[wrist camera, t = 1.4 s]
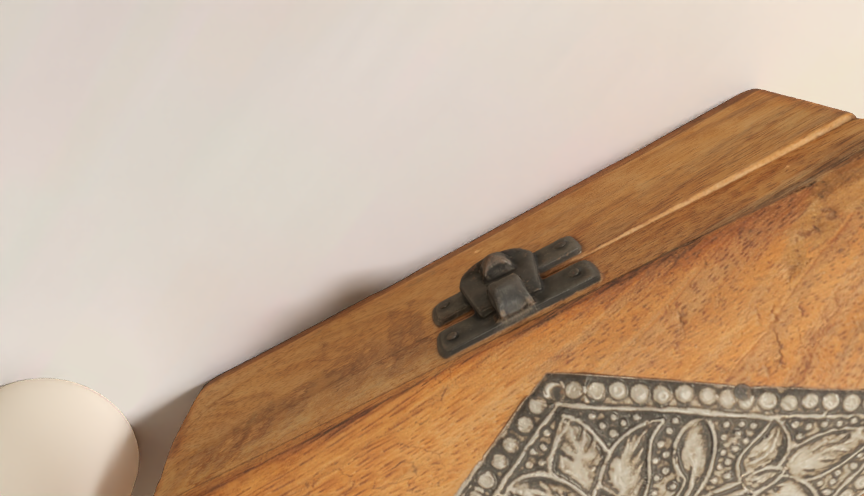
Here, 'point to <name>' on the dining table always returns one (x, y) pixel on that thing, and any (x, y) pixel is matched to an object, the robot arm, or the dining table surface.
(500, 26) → the dining table surface
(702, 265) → the wooden box
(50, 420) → the mug
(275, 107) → the dining table surface
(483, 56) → the dining table surface
